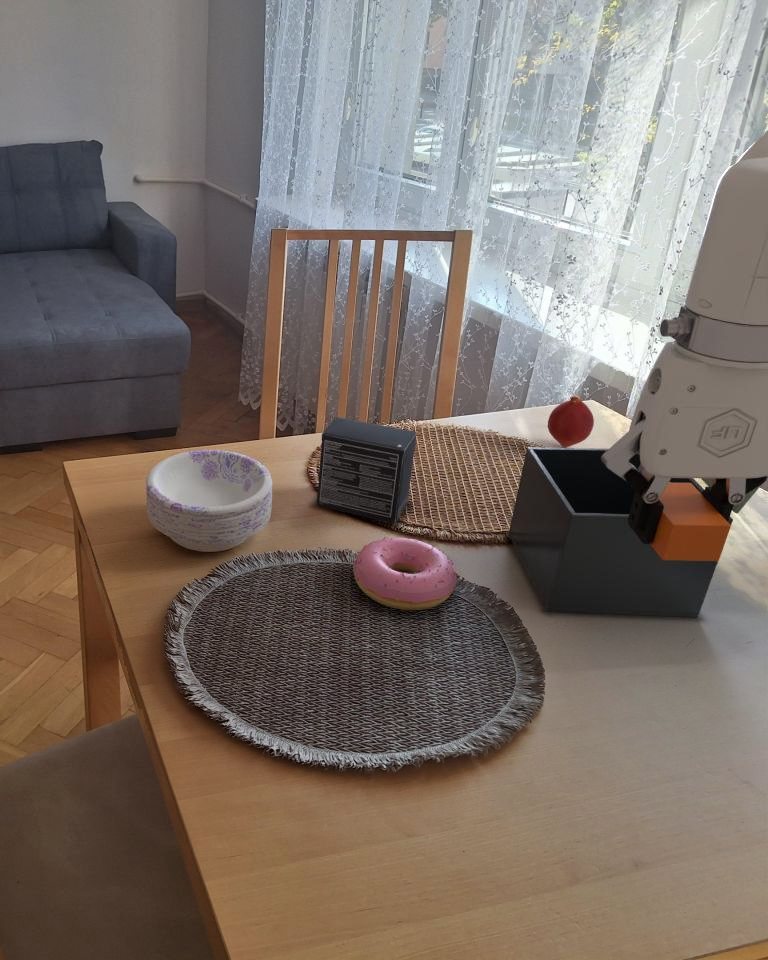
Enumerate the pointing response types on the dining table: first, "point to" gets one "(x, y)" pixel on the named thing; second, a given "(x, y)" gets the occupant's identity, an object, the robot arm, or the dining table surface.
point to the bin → (595, 541)
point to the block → (689, 526)
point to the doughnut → (399, 590)
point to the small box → (365, 469)
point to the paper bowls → (209, 498)
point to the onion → (571, 422)
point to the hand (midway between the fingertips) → (672, 533)
